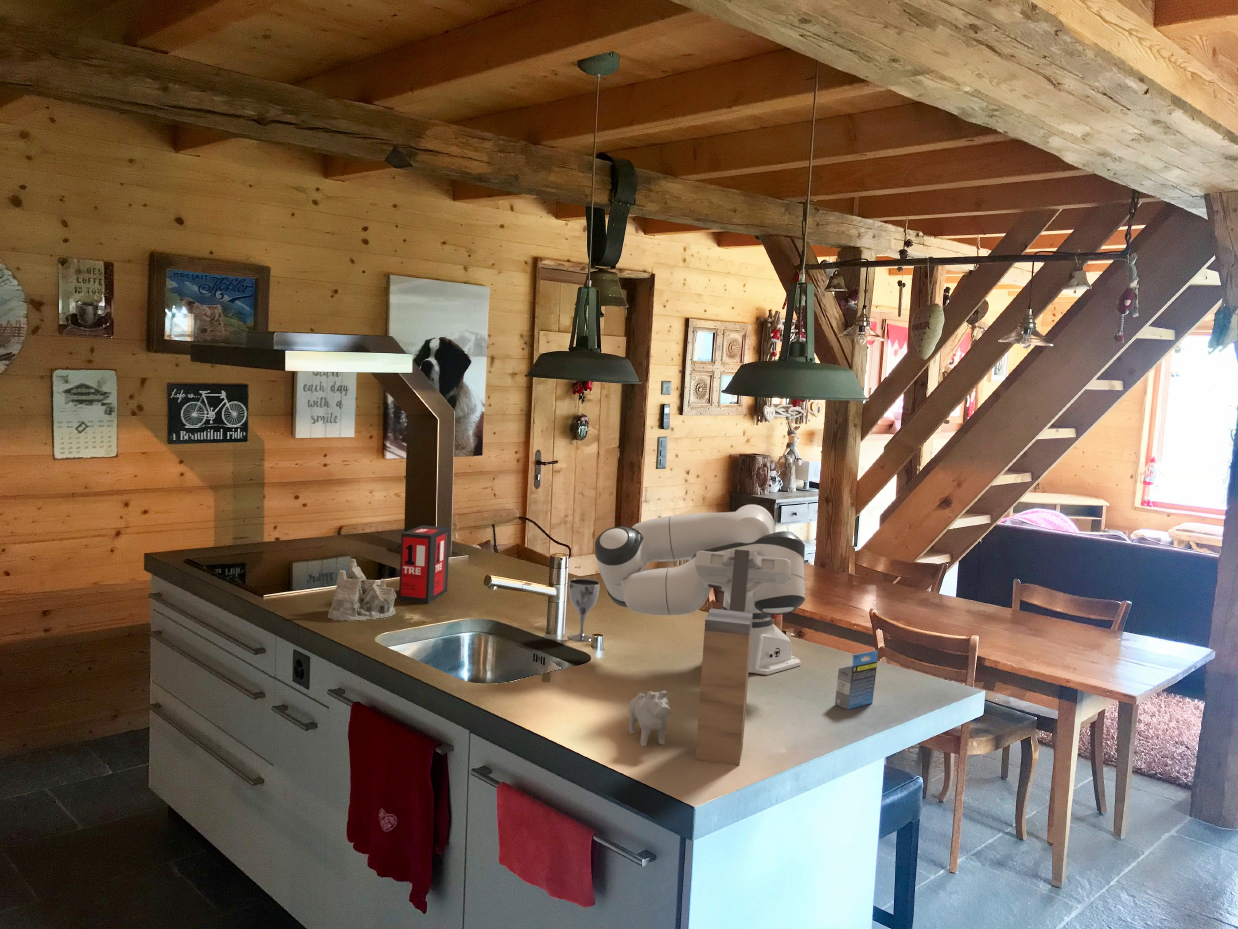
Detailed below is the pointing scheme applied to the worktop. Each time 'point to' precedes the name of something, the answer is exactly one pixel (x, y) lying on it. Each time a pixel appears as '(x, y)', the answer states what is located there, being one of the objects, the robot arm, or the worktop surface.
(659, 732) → the grey animal figure
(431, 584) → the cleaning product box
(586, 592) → the wine glass
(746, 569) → the plug
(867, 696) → the label tape box
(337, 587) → the ceramic cottage
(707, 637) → the stand
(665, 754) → the worktop surface
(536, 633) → the worktop surface
